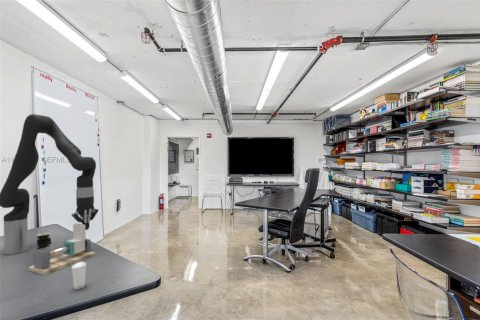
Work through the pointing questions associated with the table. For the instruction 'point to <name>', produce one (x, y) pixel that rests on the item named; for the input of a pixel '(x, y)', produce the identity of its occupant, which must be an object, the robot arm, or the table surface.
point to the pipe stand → (58, 259)
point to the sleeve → (78, 237)
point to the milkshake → (79, 274)
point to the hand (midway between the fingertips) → (85, 229)
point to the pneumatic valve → (43, 240)
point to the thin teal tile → (71, 247)
